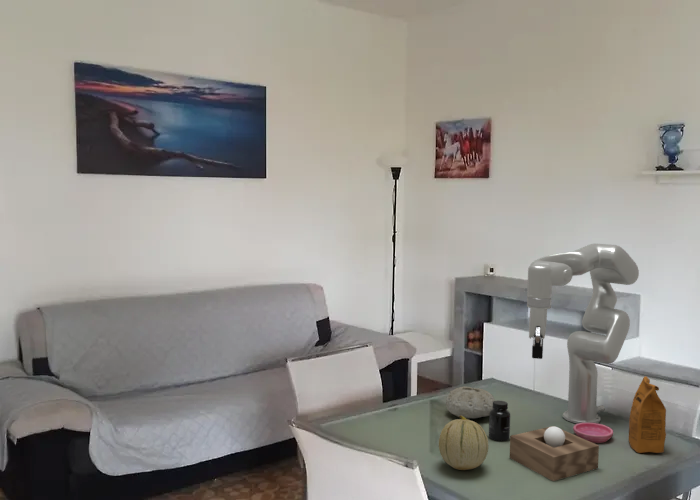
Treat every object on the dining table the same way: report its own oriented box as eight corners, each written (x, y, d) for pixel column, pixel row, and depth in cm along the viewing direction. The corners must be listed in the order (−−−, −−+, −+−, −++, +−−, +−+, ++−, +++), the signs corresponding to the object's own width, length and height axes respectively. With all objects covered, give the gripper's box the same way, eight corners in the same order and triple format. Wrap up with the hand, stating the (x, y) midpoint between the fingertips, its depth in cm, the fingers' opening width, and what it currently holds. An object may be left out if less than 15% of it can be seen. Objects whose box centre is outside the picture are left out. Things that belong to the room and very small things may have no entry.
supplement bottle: (510, 442, 214) (511, 406, 212) (488, 441, 215) (489, 405, 214) (509, 434, 220) (510, 400, 219) (488, 433, 222) (489, 398, 220)
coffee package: (657, 441, 215) (660, 375, 213) (667, 456, 203) (671, 387, 201) (624, 439, 217) (627, 373, 215) (633, 454, 205) (636, 385, 203)
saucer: (568, 439, 217) (568, 430, 216) (578, 428, 227) (578, 419, 227) (608, 448, 210) (608, 438, 210) (616, 435, 220) (617, 426, 220)
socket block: (552, 447, 210) (553, 425, 209) (598, 468, 194) (599, 445, 193) (509, 457, 202) (510, 435, 201) (553, 481, 186) (554, 457, 185)
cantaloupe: (455, 482, 185) (456, 430, 183) (428, 462, 198) (429, 414, 197) (498, 473, 191) (500, 423, 189) (470, 454, 204) (471, 407, 203)
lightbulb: (539, 458, 201) (541, 423, 200) (559, 458, 202) (560, 423, 200) (547, 467, 195) (548, 431, 194) (567, 466, 196) (568, 430, 194)
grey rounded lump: (473, 404, 250) (473, 379, 250) (506, 419, 235) (507, 391, 234) (436, 413, 241) (436, 386, 240) (468, 428, 226) (469, 400, 225)
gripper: (527, 297, 222) (526, 347, 224) (526, 306, 205) (524, 360, 207) (551, 298, 220) (549, 349, 221) (551, 308, 203) (549, 362, 205)
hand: (537, 354), depth 214 cm, fingers open, 9 cm apart
